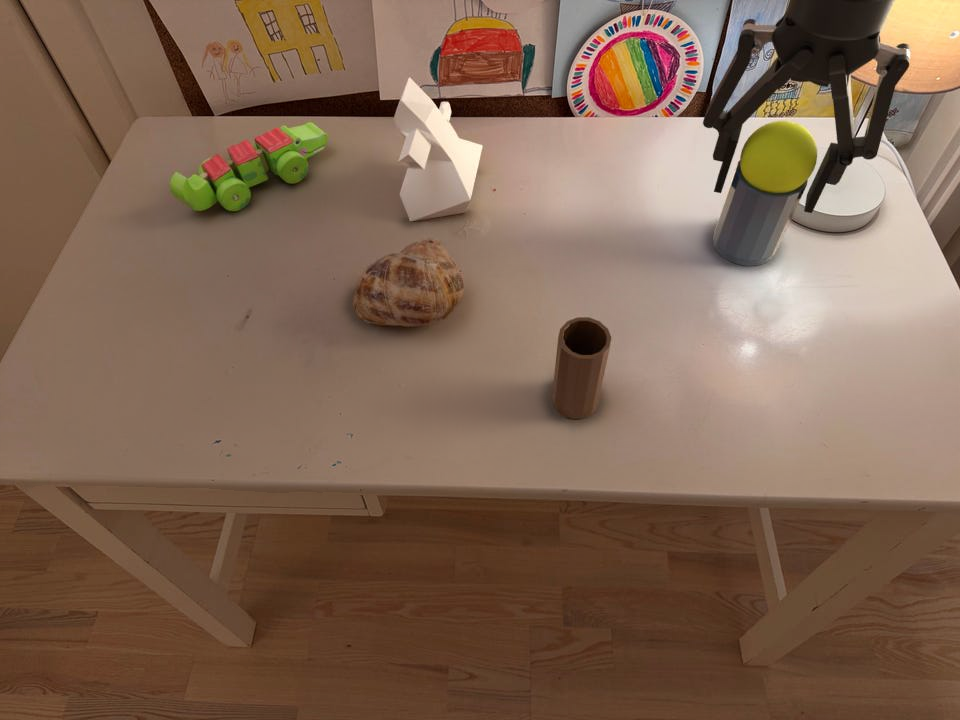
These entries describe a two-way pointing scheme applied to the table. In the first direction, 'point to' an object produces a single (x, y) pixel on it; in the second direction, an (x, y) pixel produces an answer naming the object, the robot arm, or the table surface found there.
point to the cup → (753, 221)
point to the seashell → (409, 286)
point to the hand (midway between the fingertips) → (763, 193)
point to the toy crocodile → (250, 167)
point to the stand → (580, 366)
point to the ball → (778, 157)
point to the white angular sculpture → (433, 158)
